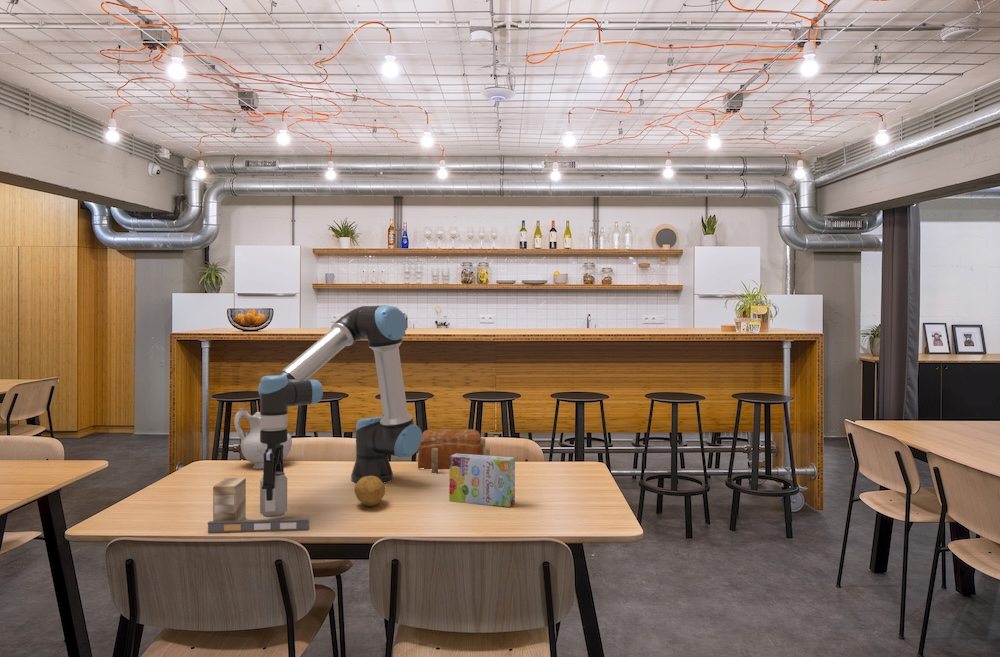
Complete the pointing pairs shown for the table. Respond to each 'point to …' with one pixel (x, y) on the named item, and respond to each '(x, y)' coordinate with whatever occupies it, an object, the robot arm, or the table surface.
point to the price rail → (258, 525)
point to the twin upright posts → (435, 455)
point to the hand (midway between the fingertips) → (273, 506)
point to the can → (279, 496)
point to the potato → (370, 490)
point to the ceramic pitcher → (255, 439)
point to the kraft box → (229, 500)
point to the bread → (448, 446)
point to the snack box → (482, 479)
